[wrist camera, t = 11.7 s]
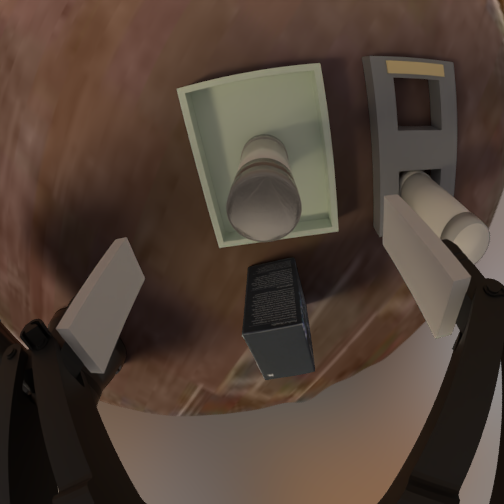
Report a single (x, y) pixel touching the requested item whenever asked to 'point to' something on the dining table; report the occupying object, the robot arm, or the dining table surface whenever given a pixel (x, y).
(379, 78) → the fuse holder
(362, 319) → the dining table surface
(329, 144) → the parts tray
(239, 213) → the cylinder
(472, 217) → the fuse
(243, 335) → the box
